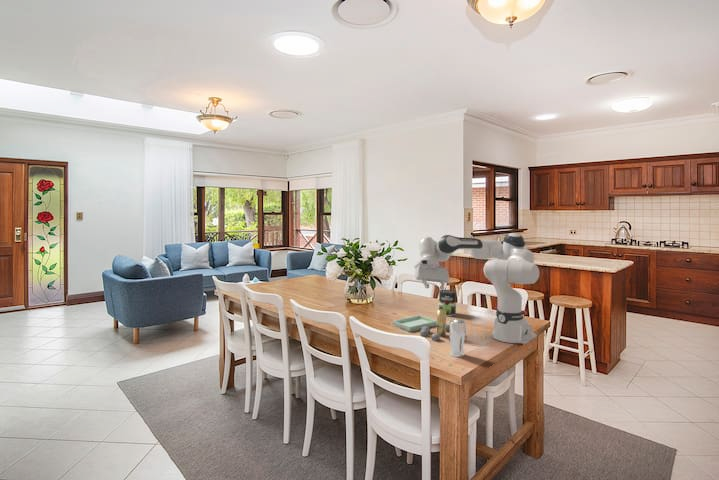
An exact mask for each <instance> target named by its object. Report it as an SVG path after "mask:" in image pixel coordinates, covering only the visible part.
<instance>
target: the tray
mask: <svg viewBox="0 0 719 480" xmlns="http://www.w3.org/2000/svg"><path fill="white" fill-rule="evenodd" d="M424 326H427V327H430V328H431V327H437V319H436V320H435V319H433V318H430V317H426V316H423V315H420V314H419V315H414V316H410V317H404V318H399V319H394V320H392V327H395V328H398V329H400V330H403V331H405V332H408V333H412V332H415V331H420V330H422V327H424Z"/></svg>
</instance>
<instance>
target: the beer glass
mask: <svg viewBox="0 0 719 480" xmlns="http://www.w3.org/2000/svg"><path fill="white" fill-rule="evenodd" d="M449 325H450V327H449V332H448V334H449V335H450V341H451V342H450V341H449V342H450V352H449V355H450V356H451V357H455V358H462V357H464V356H465V350H464V345H465V339H466V331H467V329H466V321H465V320H463V319H461V318H460V319H457V318H453V319H450V320H449Z"/></svg>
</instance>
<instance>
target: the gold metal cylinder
mask: <svg viewBox="0 0 719 480" xmlns="http://www.w3.org/2000/svg"><path fill="white" fill-rule="evenodd" d="M436 313H437V314H436V315H437V316H436V321H437V326H436V334H440V338H443V337H447V332H446V325H447V316H446V310H444V309H439V308H438V309H437V310H436Z"/></svg>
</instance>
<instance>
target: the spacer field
mask: <svg viewBox="0 0 719 480" xmlns="http://www.w3.org/2000/svg"><path fill="white" fill-rule="evenodd" d="M449 327H450V324H446V333H447V332H448V333H449ZM419 332H420V337H426V338H427V337H429V334H431V327H427V326H424V327H422V329H421V330H419ZM448 337H449V342H450V343H451V341H450V334H449V335H448ZM431 341H432V342H433V341H434V342H440V341H441V337H440V334H437V332H436V333H432V334H431Z"/></svg>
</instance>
